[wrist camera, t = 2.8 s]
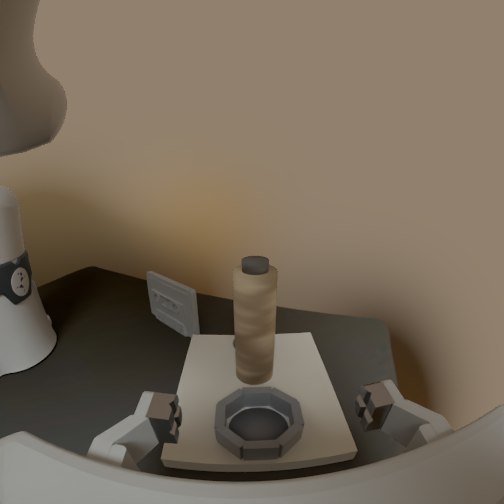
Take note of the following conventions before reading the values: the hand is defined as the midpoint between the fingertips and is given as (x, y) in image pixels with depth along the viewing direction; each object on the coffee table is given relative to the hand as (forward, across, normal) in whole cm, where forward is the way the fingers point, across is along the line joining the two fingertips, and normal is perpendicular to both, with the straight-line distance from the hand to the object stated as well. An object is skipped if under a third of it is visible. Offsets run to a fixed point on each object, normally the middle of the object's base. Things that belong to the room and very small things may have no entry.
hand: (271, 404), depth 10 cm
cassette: (+28, +12, +13) cm, 33 cm away
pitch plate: (+13, 0, +12) cm, 18 cm away
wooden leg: (+15, 0, +11) cm, 19 cm away
